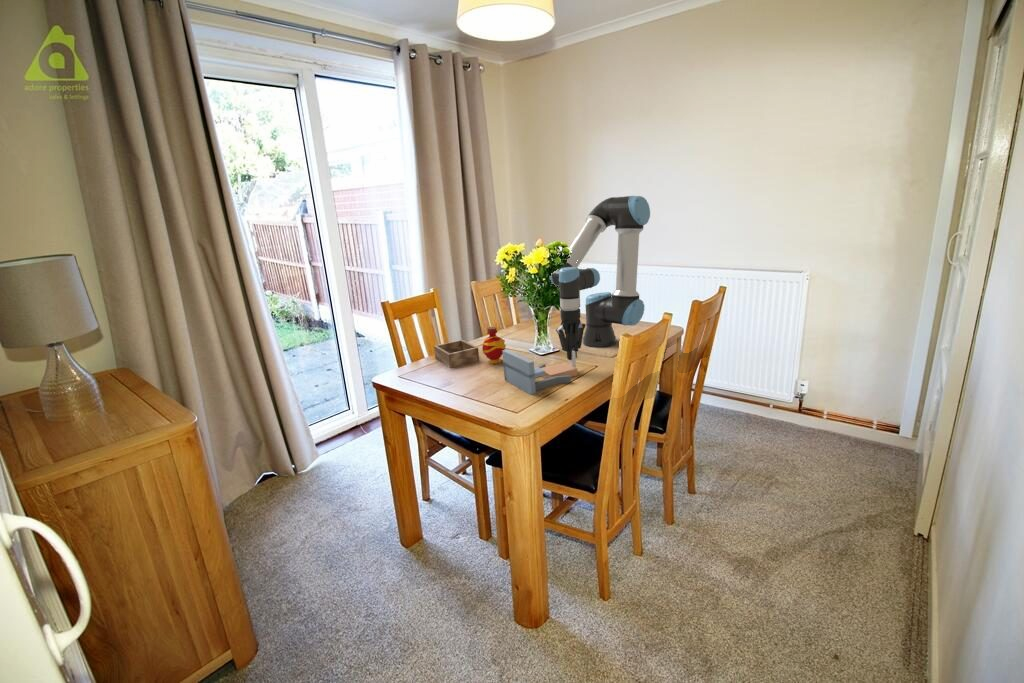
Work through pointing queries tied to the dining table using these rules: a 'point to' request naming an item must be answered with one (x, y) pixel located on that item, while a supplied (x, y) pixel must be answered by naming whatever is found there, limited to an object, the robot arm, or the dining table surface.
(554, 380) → the grey docking fixture
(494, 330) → the potion bottle
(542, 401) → the dining table surface
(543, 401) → the dining table surface
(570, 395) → the dining table surface
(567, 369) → the terracotta tile
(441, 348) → the walnut display tray
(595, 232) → the robot arm
